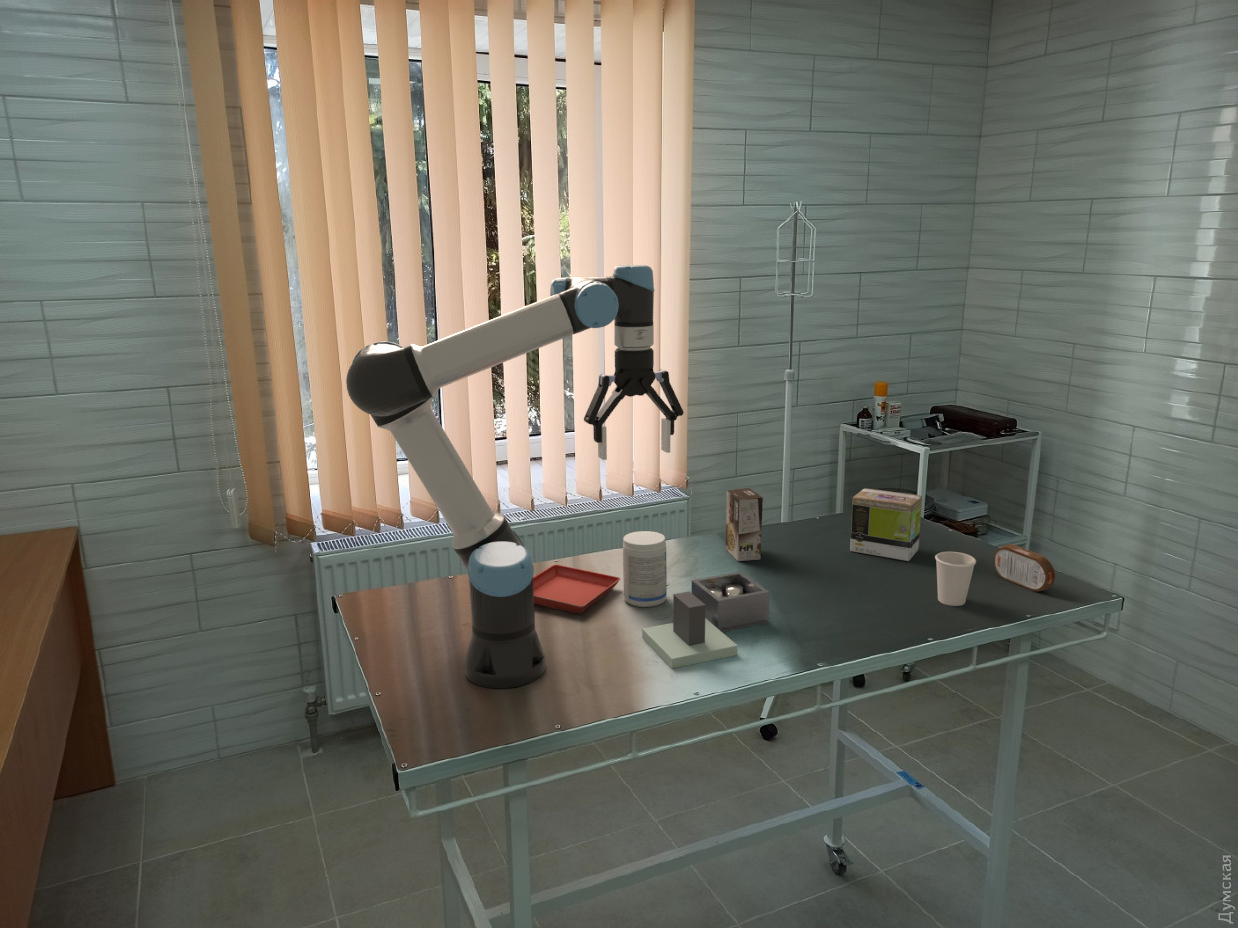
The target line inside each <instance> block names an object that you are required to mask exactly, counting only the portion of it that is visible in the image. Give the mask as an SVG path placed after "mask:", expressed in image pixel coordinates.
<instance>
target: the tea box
mask: <svg viewBox="0 0 1238 928" xmlns="http://www.w3.org/2000/svg"><path fill="white" fill-rule="evenodd" d="M922 502H923V496H922V495H920V494H919V495H918V494H912V493H902V492H897V491H896V492H895V491H889V490H881V489H873V488H868V487H867V488H866V487H864V488H863V489H861V490H860V491H859V492H858V493H857V494H855V495H854V496H852V504H851V507H852V508H851V519H850V520H851V523H850V524H851V525H850V540H849V541H850V542H849V543H850V545H849V546H850V547H849V550H850V552H853V553H854V552H855V553H861V554H866V555H872V556H877V557H882V558H887V559H888V558H889V559H894V560H899V561H904V562H906V561H907V562H910V561H911V559H912V558H913V557H914V556H915V554H916V553H917V552H918V551H919V546H920V533H921V517H922V507H923V506H922Z"/></svg>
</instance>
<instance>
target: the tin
mask: <svg viewBox="0 0 1238 928" xmlns="http://www.w3.org/2000/svg"><path fill="white" fill-rule="evenodd" d="M993 566H994V570H995V571H996V573H997V574H998V575H999V576H1000V577H1001V579H1004V580H1005V581H1008V582H1010V583H1013V584H1014V585H1015V584H1016V585H1018V586H1020V587H1023V588H1024V589H1027V590H1029V591H1031V592H1042V591H1045V590H1048V589H1051V588H1052V587H1053V586H1054V584H1055V582H1056V581H1055V580H1056V571H1055V569H1054V566H1053V563H1051V561H1050V560H1049V559H1048V558H1047V557H1045V556H1044V555H1042V554H1039V553H1038V552H1034V551H1031V550H1029V549H1027V548H1024V547H1021V546H1018V545H1016V544H1014V543H1008V544H1005V545H1003V546H1001V547H999V548H997V549H996V550H995V552H994V553H993Z"/></svg>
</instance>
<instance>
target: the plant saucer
mask: <svg viewBox="0 0 1238 928" xmlns="http://www.w3.org/2000/svg"><path fill="white" fill-rule="evenodd" d="M620 580H621V578H620V577H618V576H615V575H614V576H613V575H610V574H604V573H598V572H595V571H590V570H587V569H586V570H585V569H580V568H577V567H571V566H566V565H560V564H553V565H551V566H549V567H547V568H546V569H544V570H542V571H541V572H540V573H538V574H535V576H533V590H534V605H539V606H543V607H546V608H551V609H556V610H560V611H564V612H569V613H573V614H582V613H583V612H585V611H586V610H587V609H589V608H590V607H591V606H592V605H594V604H595V603H597V602H598V601H599V600H601V599H602V598H603V597H605V595H607V594H609V593H610V592H611V591H612V590H613V589H614V588H615V587H616V586H617V585H618V583H619V582H620Z"/></svg>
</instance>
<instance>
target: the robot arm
mask: <svg viewBox="0 0 1238 928" xmlns="http://www.w3.org/2000/svg"><path fill="white" fill-rule="evenodd" d="M654 284H655V283H654V271H653V269H652V267H650V266H649V265H645V264H644V265H643V264H626V265H624V264H623V265H621V264H619V265H616V266H614V268H613V273H612V275H610V276H602V277H601V276H573V277H571V276H565V277H557V278H554V279H552V280H551V283H550V290H549V291H550V294H549V296H548V297H546V298H544V299H541V300H538V301H536V302H533V303H530V304H528V305H525V306H523V307H521V308H518V309H516V310H513V311H510V312H507V313H505V314H503V315H500V316H497V317H494V318H493V319H490V320H487V321H485V322H481V323H480V324H477V325H474V326H472V327H469V328H467V329H464V330H462V331H459V332H456V333H453V334H451V335H449V336H446V337H443V338H441V339H438V340H436V341H433V342H431V343H428V344H426V345H424V346H419V345H416V344H414V343H411V344H409V345H406V346H402V345H401V344H398V343H396V342H393V341H383V340H382V341H376V342H373V343H371V344H368V345H365V347H363V348H361V349H360V350H359V351H358V352H357V353H356V355H355V356H354V358H353V359H352V363H351V364H350V367H349V369H348V371H347V374H346V379H345V380H346V381H345V382H346V390H347V394H348V397H349V398H350V400H351V401H352V403H353V404H354V405H355V406H356V407H357V408H358V410H360V411H362V412H363V413H366V414H368V415H370V417H371V418H372V420H373V422H375V424H376V426H377V428H380V429H383V430H387V431H390V433H391V434H392V436H393V438H394V439H395V441H396V442H397V444H398V446H399V448H400V449H401V450H402V452H403V454H404V455H405V457H406V459H407V461H408V462H409V464H410V466H411V467H412V469H413V470H414V472H415V473H416V475H417V477H418V478H419V480H420V482H421V484H423V486H424V488H425V489H426V492H427V493H428V494H429V496H430V498H431V499H432V501H433V502H434V504H435V506H436V508H437V509H438V510H439V513H440V514H441V515H442V517H443V518H444V521H445V522H446V523H447V525H448V527H449V528H450V530H451V531H452V533H453V537H452V541H451V547H452V548H453V550H454V552H455V553H456V555H457V556H458V558H459V559H460V561H461V563H462V565H463V566H464V567H465V569H466V571H467V576H468V577H467V578H468V585H469V598H470V601H469V602H470V614H471V616H470V617H471V630H472V631H471V637H470V641H469V643H468V647H467V650H466V654H465V658H464V674H465V677H466V678H467V679H468V680H469V682H471V683H473V684H475V685H477V686H481V687H484V688H489V689H510V688H515V687H517V688H518V687H520V686H524V685H528V684H529V683H532V682H534V681H535V680H537V679H538V678H539V679H540V677H541V676H542V675H543V674H544V672H545V671H546V668H547V667H546V666H547V665H546V653H545V651H544V648H543V646H542V643H541V641H540V637H539V635H538V633H537V630H536V624H535V621H536V620H535V619H536V618H535V617H536V616H535V604H534V590H533V577H534V574H535V567H534V563H533V557H532V554H531V552H530V551H529V550H528V549H527V548H526V547H525V545H524V543H523V541H522V539H521V537H520V536H519V534H518V533H517V532H516V531H514V530H513V528H512V527H511V525H510V523H509V522H508V520H507V519H506V516H505V515H504V514H503V513H501V512H497V511H493V510H492V508H491V507H490V505H489V504H488V502H487V501H486V499H485V497H484V495H483V493H482V492H481V490H480V489H479V487H478V485H477V483H476V481H475V480H474V478H473V476H472V475H471V473H470V472H469V470H468V468H467V467H466V465H465V463H464V462H463V460H462V458H461V457H460V455H459V452H458V451H457V450H456V448H455V447H454V445H453V443H452V441H451V440H450V437H448V435H447V433H446V432H445V430H444V428H443V426H442V425H441V423H440V421H439V420H438V418H437V416H436V415H435V413H434V411H433V410H432V407H431V406H432V402H433V398H434V397H436V395H437V393H438V390H439V389H441V388H444V387H446V386H448V385H450V384H453V383H455V382H458V381H460V380H464V379H465V378H469V377H471V376H473V375H475V374H479V373H480V372H484V371H486V370H488V369H490V368H493V367H495V366H498V365H500V364H503V363H505V362H508V361H510V360H513V359H516V358H517V357H521V356H522V355H526V354H527V353H530V352H533V351H536V350H537V349H540V348H543V347H546V346H548V345H550V344H553V343H555V342H558V341H561V340H562V339H565V338H568V337H570V336H572V335H577V334H579V333H582V332H584V331H586V330H589V329H600V328H604V327H606V326H609V325H610V324H611V323H614V325H613V326H614V327H613V329H614V334H613V335H614V341H613V342H614V343H613V345H614V346H615V347H617V348H615V350H614V373H613V374H612V375H609V374H604V373H600V374H599V376H598V386H597V388H596V390H595V392H594V394H593V397H592V398H591V401H590V403H589V406H588V408H587V410H586V413H585V415H584V417H583V422H585V423H587V424H589V425H591V426H593V427H592V428H593V429H592V430H593V441H594V442H595V443H597V452H598V453H597V454H598V455H597V456H598V458H600V459H601V460H603V461H607V460H608V451H607V450H608V449H607V445H608V443H607V442H608V441H607V435H608V434H607V426H606V425H604V423H605V422H606V421H607V419H608V418H609V417H610V416H611V414H612V412H613V411H615V409H616V408H617V406H618V405H619V404H620V402H621V401H623V400H624V398H625V397H629V398H631V397H635V396H641V397H642V396H643V397H644V396H645V395H646V396H647V397H648V398H649V399H650V400H651V401H652V403H653V404H654V405H655V406H656V407H657V408H658V410H660V412H661V413H662V414H663V416H664V417H661V419H660V420H661V421H660V422H661V423H660V424H661V425H660V427H661V428H660V429H661V430H660V432H661V435H660V441H661V447H660V448H661V449H660V450H661V451H663V452H664V453H666V454H669V453H671V436H674V434H675V421H676V420H678V417H682V416H683V415H684V413H685V412H684V409H683V408H682V405H681V403H680V401H679V399H678V397H677V395H676V393H675V390H674V388H673V386H672V384H671V382H670V373H669V371H668V370H665V369H661V368H660V369H659V370H657V371H654V364H655V358H654V353H655V352H654V349H653V348H652V346H654V341H655V340H654V337H655V336H654V331H655V330H654V328H655V327H654V326H655V325H654V302H655V301H654V297H655V295H654V294H655V287H654V286H655V285H654ZM613 321H614V322H613ZM655 380H656V381H657V382H658V383H659V385H660V388H661V389H662V391H663V394H664V396H665V398H666V400H667V402H668V404H669V406H670V407H669V406H668V405H667V404H666V403H665V401H664V400H663V399H662V398H661V396H660V395H659V394H658V393H657V391H656V390H655V388H654V387H653V386H652V384H653V383H654V381H655ZM613 383H614V384H615V388H614V389H613V390H612V391H611V395H610V396H609V398H608V399H607V400H606V402H605V403H604V404H603V402H604V400H605V398H606V395H607V393H608V391H609V387H611V386H612V384H613ZM602 404H603V406H602Z"/></svg>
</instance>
